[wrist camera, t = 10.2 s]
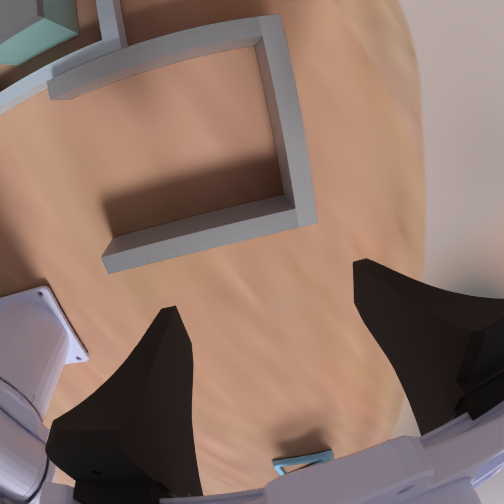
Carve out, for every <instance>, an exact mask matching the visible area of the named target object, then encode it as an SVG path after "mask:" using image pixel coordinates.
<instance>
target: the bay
mask: <svg viewBox="0 0 504 504" xmlns="http://www.w3.org/2000/svg"><path fill="white" fill-rule="evenodd" d="M251 46H255V50H256V55H257V59H258V64H259V68H260V73H261V78H262V82H263V87H264V92H265V97H266V101H267V106H268V111H269V116H270V121H271V126H272V132H273V137H274V142H275V147H276V152H277V158H278V163H279V169H280V174H281V180H282V185H283V191H284V195H280V196H276V197H271V198H267V199H262V200H258V201H254V202H249V203H245V204H241V205H237V206H232V207H228V208H224V209H220V210H216V211H212V212H208V213H204V214H200V215H196V216H192V217H188V218H184V219H180V220H177V221H173V222H169V223H165V224H161V225H158V226H154V227H150V228H147V229H143V230H139V231H136V232H132V233H129V234H125V235H122V236H118V237H115V238H113V239H112V241H111V242H110V244H109V245H108V247H107V249H106V250H105V252H104V253H103V255H102V257H101V259H102V261H103V263H104V266H105V268H106V270H107V272H108V274H111V273H115V272H119V271H123V270H127V269H131V268H135V267H139V266H142V265H146V264H150V263H154V262H158V261H162V260H166V259H170V258H175V257H179V256H183V255H187V254H191V253H195V252H199V251H203V250H207V249H211V248H215V247H219V246H223V245H228V244H232V243H236V242H240V241H244V240H248V239H252V238H257V237H261V236H265V235H269V234H273V233H278V232H282V231H286V230H290V229H294V228H299V227H303V226H307V225H312V224H316V223H318V220H317V212H316V205H315V197H314V190H313V183H312V176H311V169H310V163H309V156H308V150H307V144H306V138H305V132H304V126H303V121H302V115H301V109H300V104H299V99H298V94H297V88H296V83H295V78H294V73H293V69H292V64H291V59H290V55H289V50H288V45H287V41H286V37H285V32H284V28H283V24H282V20H281V16H280V14H276V15H266V16H258V17H250V18H243V19H237V20H231V21H225V22H219V23H214V24H209V25H204V26H200V27H195V28H191V29H187V30H183V31H179V32H175V33H171V34H167V35H164V36H160V37H157V38H153V39H150V40H147V41H144V42H140V43H137V44H134V45H131V46H128V47H126V48H123V49H120V50H117V51H114V52H112V53H109V54H106V55H104V56H101V57H99V58H96V59H94V60H91V61H89V62H87V63H84V64H82V65H80V66H77V67H75V68H73V69H71V70H69V71H67V72H64V73H62V74H60V75H58V76H56V77H54V78H52V79H50V80H48V81H46V82H47V87H48V91H49V96H50V100H71V99H73V98H75V97H78V96H80V95H82V94H85V93H87V92H90V91H92V90H95V89H97V88H100V87H102V86H105V85H107V84H110V83H113V82H115V81H118V80H121V79H124V78H127V77H130V76H133V75H136V74H139V73H142V72H145V71H148V70H151V69H155V68H158V67H161V66H165V65H168V64H172V63H176V62H179V61H183V60H187V59H191V58H195V57H200V56H204V55H209V54H213V53H218V52H223V51H228V50H233V49H239V48H245V47H251Z"/></svg>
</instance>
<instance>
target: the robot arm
mask: <svg viewBox="0 0 504 504" xmlns="http://www.w3.org/2000/svg"><path fill="white" fill-rule="evenodd" d="M353 281H354V303H355V306H356V308H357V310H358V312H359V314H360V316H361V318H362V320H363V322H364V323H365V325H366V326H367V328H368V329H369V331H370V332H371V334H372V335H373V337H374V338H375V340H376V341H377V343H378V344H379V346H380V347H381V349H382V350H383V352H384V353H385V355H386V356H387V358H388V359H389V361H390V363H391V364H392V366H393V368H394V370H395V372H396V374H397V376H398V378H399V380H400V382H401V384H402V387H403V389H404V391H405V394H406V396H407V398H408V400H409V403H410V405H411V408H412V411H413V413H414V416H415V419H416V421H417V424H418V427H419V430H420V433H421V437H415V436H401V437H398V438H394V439H391V440H388V441H385V442H383V443H380V444H378V445H375V446H372V447H370V448H367V449H364V450H361V451H359V452H356V453H353V454H350V455H347V456H344V457H341V458H338V459H334V460H331V461H328V462H324V463H321V464H318V465H314V466H310V467H307V468H303V469H299V470H296V471H293V472H290V473H287V474H284V475H281V476H279V477H277V478H275V479H274V480H272V481H271V482H269V483H268V484H267V485H266V486H265V487H264V488H259V489H253V490H247V491H241V492H234V493H226V494H218V495H209V496H203V492H202V488H201V483H200V478H199V472H198V466H197V460H196V453H195V445H194V437H193V427H192V388H193V353H192V343H191V341H190V338H189V336H188V334H187V331H186V329H185V327H184V324H183V322H182V319H181V317H180V315H179V312H178V310H177V307H176V306H172V307H167V308H162V309H161V310H160V312H159V313H158V314H157V316H156V318H155V319H154V321H153V322H152V324H151V325H150V327H149V328H148V330H147V331H146V333H145V334H144V336H143V337H142V339H141V340H140V342H139V343H138V344H137V346H136V347H135V348H134V350H133V351H132V352H131V354H130V355H129V356H128V358H127V359H126V360H125V361H124V363H123V364H122V365H121V366H120V367H119V368H118V369H117V371H116V372H115V373H114V374H113V375H112V376H111V377H110V378H109V379H108V380H107V381H106V382H105V383H104V384H103V385H102V386H100V387H99V388H98V389H97V390H96V391H95V392H94V393H93V394H91V395H90V396H89V397H88V398H87V399H85V400H84V401H83V402H81V403H80V404H79V405H77V406H76V407H74V408H73V409H71V410H70V411H68V412H67V413H65V414H63V415H62V416H60V417H59V418H57V419H55V420H53V423H52V426H51V429H50V433H49V429H48V428H47V427H45V426H44V425H43V421H44V418H45V415H46V412H47V409H48V406H49V403H50V401H51V398H52V395H53V392H54V390H55V387H56V384H57V382H58V379H59V376H60V374H61V371H62V369H63V366H64V364H70V363H78V362H85V361H88V359H89V355H88V353H87V352H86V350H85V349H84V347H83V346H82V344H81V342H80V341H79V339H78V338H77V336H76V334H75V333H74V331H73V329H72V328H71V326H70V324H69V323H68V321H67V319H66V317H65V316H64V314H63V312H62V310H61V309H60V307H59V305H58V303H57V301H56V299H55V298H54V296H53V294H52V292H51V290H50V288H49V287H47V286H40V287H36V288H33V289H29V290H26V291H22V292H18V293H15V294H11V295H8V296H4V297H1V298H0V504H482V503H481V501H480V499H479V497H478V495H477V493H476V491H475V490H474V489H475V488H477V487H478V486H479V485H481V484H482V483H484V482H485V481H487V480H488V479H489V478H491V477H492V476H493V475H494V474H496V473H497V472H498V471H500V470H501V469H502V468H504V299H494V298H483V297H476V296H469V295H464V294H459V293H454V292H450V291H447V290H443V289H439V288H436V287H433V286H430V285H427V284H425V283H422V282H420V281H417V280H414V279H412V278H410V277H407V276H405V275H403V274H400V273H398V272H396V271H394V270H392V269H390V268H387V267H385V266H383V265H381V264H379V263H377V262H374V261H372V260H369V259H367V258H366V259H362V260H358V261H355V262H353ZM40 292H41V293H42V294H40ZM78 356H79V357H78ZM48 434H49V436H48ZM47 437H48V440H47ZM46 441H47V442H46ZM56 466H57V467H58V468H60V469H61V470H62V471H63V472H65V473H66V474H67V475H69V476H70V477H71V478H73V479H74V480H75V481H76V482H75V488H73V487H71V486H68V485H64V484H57V483H54V481H55V476H56Z"/></svg>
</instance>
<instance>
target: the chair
mask: <svg viewBox="0 0 504 504" xmlns="http://www.w3.org/2000/svg"><path fill="white" fill-rule="evenodd" d="M320 460H321V461H320ZM331 460H334V456H333V453H332V450H329V451H325V452H321V453H317V454H312V455H306V456H300V457H294V458H288V459H281V460H276V461H273V465H274V468H275V469H276V470H277V472H278V473H279V474H280V475H284V474H286V473H285V472H284V470H283V469H282V468H281V467H282V466H289V465H296V464H302V463H308V462H314V461H319V462H317V463H315V464H313V465H310V466H314V465H318V464H321V463H324V462H328V461H331ZM310 466H308V467H310ZM306 468H307V467H306Z"/></svg>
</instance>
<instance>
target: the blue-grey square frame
mask: <svg viewBox="0 0 504 504" xmlns="http://www.w3.org/2000/svg"><path fill="white" fill-rule="evenodd" d="M96 6H97V12H98V18H99V24H100V30H101V35H102V40H101V41H98V42H96V43H93V44H91V45H89V46H86V47H84V48H82V49H79V50H77V51H75V52H73V53H71V54H68V55H66V56H64V57H62V58H60V59H58V60H56V61H54V62H52V63H50V64H48V65H46V66H44V67H42V68H41V69H39V70H37V71H35V72H33V73H31V74H30V75H28V76H26V77H24V78H23V79H21V80H19V81H18V82H16V83H14V84H13V85H11V86H9V87H8V88H6V89H5V90H3V91H1V90H0V115H1V114H3V113H4V112H6V111H8V110H9V109H11V108H13V107H14V106H16V105H18V104H20V103H21V102H23V101H25V100H27V99H28V98H30V97H32V96H34V95H36V94H38V93H40V92H41V91H43V90H45V89H47V88H48V87H47V82H46V81H48V80H50V79H52V78H54V77H56V76H58V75H60V74H62V73H64V72H67V71H69V70H71V69H73V68H75V67H77V66H80V65H82V64H84V63H87V62H89V61H91V60H94V59H96V58H99V57H101V56H104V55H106V54H109V53H112V52H114V51H117V50H120V49H123V48H126V47H128V43H127V38H126V33H125V28H124V23H123V17H122V12H121V6H120V0H96Z"/></svg>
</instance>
